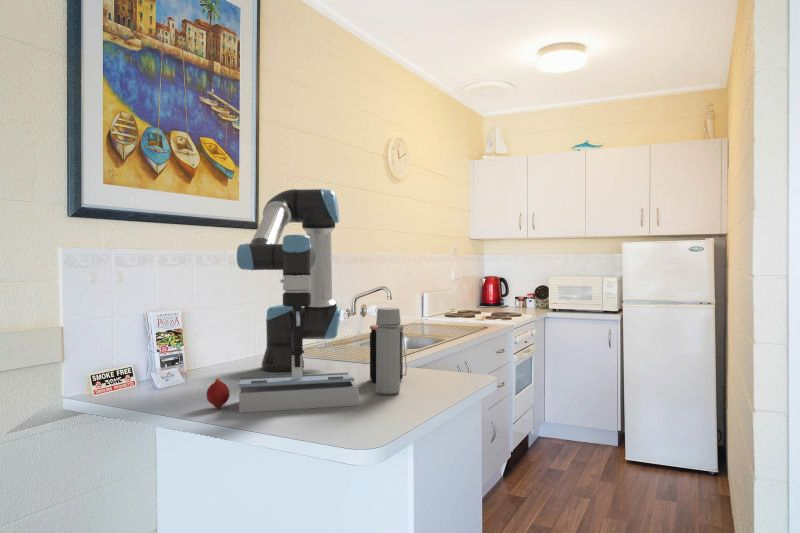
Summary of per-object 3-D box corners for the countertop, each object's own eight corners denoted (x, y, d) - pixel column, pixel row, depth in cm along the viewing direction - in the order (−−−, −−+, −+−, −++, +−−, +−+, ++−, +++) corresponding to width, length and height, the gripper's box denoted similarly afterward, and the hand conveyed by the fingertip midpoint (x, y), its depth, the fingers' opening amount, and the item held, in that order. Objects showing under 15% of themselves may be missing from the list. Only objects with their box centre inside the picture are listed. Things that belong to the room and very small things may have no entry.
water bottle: (377, 396, 161) (377, 309, 161) (374, 390, 169) (374, 307, 168) (408, 395, 162) (408, 309, 162) (404, 388, 170) (404, 307, 170)
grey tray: (241, 401, 155) (240, 383, 155) (351, 394, 163) (351, 377, 163) (239, 412, 144) (239, 393, 144) (358, 405, 151) (358, 386, 151)
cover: (241, 377, 156) (239, 381, 144) (347, 371, 163) (354, 376, 151) (241, 382, 156) (239, 387, 144) (347, 376, 163) (354, 381, 151)
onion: (207, 406, 150) (206, 376, 150) (229, 404, 152) (229, 375, 152) (206, 411, 145) (206, 381, 145) (229, 409, 146) (229, 379, 146)
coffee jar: (399, 385, 175) (399, 328, 175) (366, 383, 177) (366, 327, 177) (405, 378, 186) (405, 324, 186) (374, 376, 188) (374, 323, 188)
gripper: (281, 290, 157) (282, 374, 157) (283, 292, 144) (283, 384, 144) (308, 290, 159) (308, 373, 159) (312, 292, 146) (313, 382, 146)
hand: (297, 378), depth 151 cm, fingers closed
